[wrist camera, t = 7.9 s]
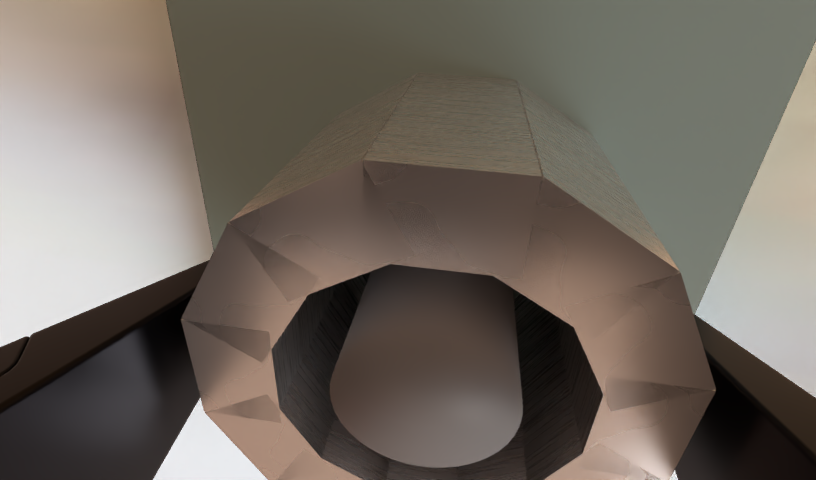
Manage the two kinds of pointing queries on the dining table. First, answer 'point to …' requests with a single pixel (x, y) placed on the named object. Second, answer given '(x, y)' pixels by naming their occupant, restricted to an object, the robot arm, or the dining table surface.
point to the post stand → (548, 78)
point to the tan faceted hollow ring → (462, 252)
